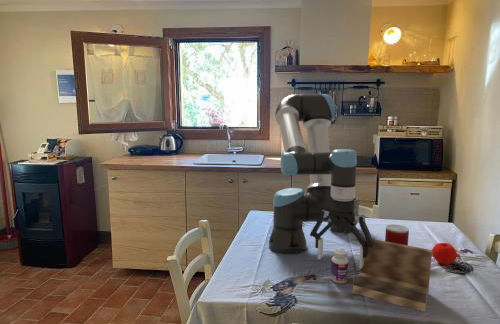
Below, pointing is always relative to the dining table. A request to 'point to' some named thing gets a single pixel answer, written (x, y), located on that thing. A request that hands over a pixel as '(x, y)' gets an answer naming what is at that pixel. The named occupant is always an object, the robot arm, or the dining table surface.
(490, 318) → the dining table surface
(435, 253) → the apple
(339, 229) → the planter
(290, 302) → the dining table surface
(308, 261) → the dining table surface
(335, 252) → the pill bottle
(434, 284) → the dining table surface
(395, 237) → the canned food
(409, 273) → the cleat board
